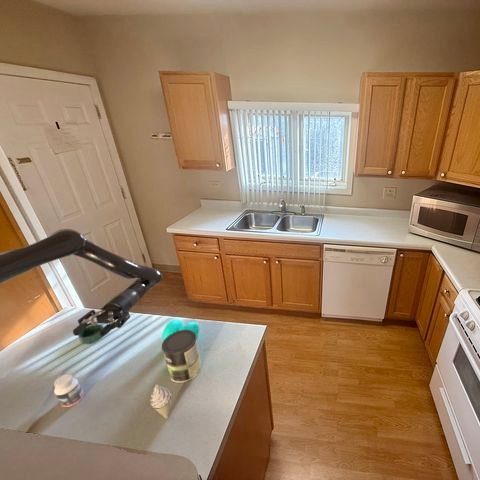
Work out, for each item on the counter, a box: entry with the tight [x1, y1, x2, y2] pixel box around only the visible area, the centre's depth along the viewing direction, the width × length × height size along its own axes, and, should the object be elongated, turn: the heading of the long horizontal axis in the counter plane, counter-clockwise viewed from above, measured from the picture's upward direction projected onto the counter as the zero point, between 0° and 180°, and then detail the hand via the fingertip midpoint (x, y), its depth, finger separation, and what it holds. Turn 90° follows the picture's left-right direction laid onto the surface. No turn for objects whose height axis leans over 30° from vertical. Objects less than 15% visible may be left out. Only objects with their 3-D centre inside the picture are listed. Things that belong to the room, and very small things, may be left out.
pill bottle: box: [53, 373, 85, 408], centre depth 78 cm, size 5×5×9 cm
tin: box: [78, 323, 105, 345], centre depth 102 cm, size 8×8×3 cm
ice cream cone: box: [149, 383, 173, 419], centre depth 73 cm, size 5×5×15 cm
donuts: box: [161, 318, 200, 342], centre depth 100 cm, size 10×10×10 cm
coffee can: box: [161, 330, 202, 384], centre depth 88 cm, size 10×10×14 cm
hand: (87, 334), depth 83 cm, fingers open, 8 cm apart
